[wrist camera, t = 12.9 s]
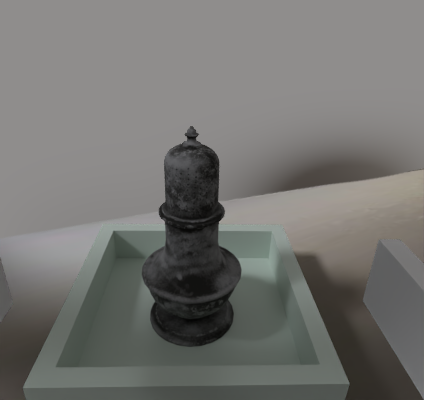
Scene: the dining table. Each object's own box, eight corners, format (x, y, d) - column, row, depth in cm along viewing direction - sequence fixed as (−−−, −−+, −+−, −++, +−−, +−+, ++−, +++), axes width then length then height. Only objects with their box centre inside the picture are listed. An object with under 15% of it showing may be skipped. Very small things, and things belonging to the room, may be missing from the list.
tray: (37, 438, 16) (22, 388, 15) (107, 261, 29) (103, 223, 28) (335, 433, 17) (349, 383, 16) (277, 261, 30) (281, 224, 28)
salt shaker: (195, 272, 26) (196, 109, 21) (257, 315, 23) (276, 128, 17) (126, 311, 23) (106, 124, 17) (186, 369, 19) (184, 152, 14)
